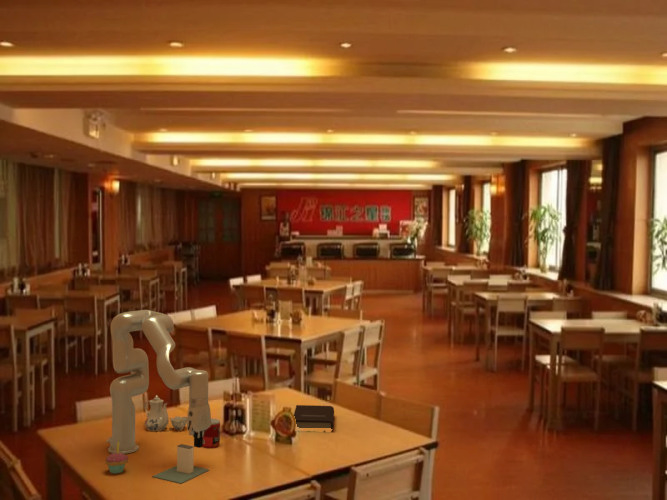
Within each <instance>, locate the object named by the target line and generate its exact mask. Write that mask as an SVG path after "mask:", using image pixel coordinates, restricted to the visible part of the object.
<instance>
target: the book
mask: <svg viewBox="0 0 667 500" xmlns="http://www.w3.org/2000/svg"><path fill="white" fill-rule="evenodd" d="M293 416H295V419H296V424H297V427H299V428H331V429H333V430H334V422H335V421H334V420H335V409H334V406H332V405H315V404H314V405H311V404H310V405H309V404H296V406H295V409H294V413H293Z"/></svg>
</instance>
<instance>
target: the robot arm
mask: <svg viewBox="0 0 667 500" xmlns="http://www.w3.org/2000/svg"><path fill="white" fill-rule="evenodd" d="M174 326H175V323H174V320H173V319H172V318H171V316H170V315H168V314H166V313H163V312H157V311H153V310H149V309H140V310H131V311H125V312H121V313H119V314H117V315H116V316H114V317H113V319H112V320H111V323H110V333H111V340H112V366H113V369H114V372H115V373H116V374H127V373H130V374H127V375H122V376H118V377H117V378H115V379H113V380H112V382H111V383H110V386H109V393H110V399H111V411H112V412H111V415H112V416H111V418H112V419H111V421H112V422H111V425H112V426H111V436H108V439H106V443H108V444H110V445H109V446H108V447H107V451H108V453H110V454H114V453H117V442H118V440H119V453H122V454H125V455H126V454H132V453H134V452H137V451H138V450H139V449H140V446H139V445H138V444H137V443H136V405H135V403H134V401H133V397H134V398H135V397H136V396H140V395H143V394H144V393H146V392H147V391H148V388H149V385H150V373H149V372H150V371H149V365H150V364H149V357H148V355H147V353H146V352H145V350H143V349H142V348H139V347H138V348H134V339H133V336H132V335H131V332H138V331H142V332H143V334H144V336H145V337H146V340H148V342H149V344H150V345H151V347H152V348H153V350H154V352H155V354H156V370H157V373H158V376H159V377H160V378H161V380H162V381H163V383H164V385H165V386H166V387H167V388H169V389H171V390H180V389H182V388H186V387H189V388H188V392H189V393H188V409H187V416H186V417H187V423H186V427H187V431H188V435H189V436H192V438H193V446H194V448H199V449H200V448H204V447H203V436H204V432H205V431H206V430H207V429H208V428H209V427H210V426H211V419H212V415H211V407H210V403H209V373H208V371H207V370H204V369H196V368H194V367H191V366H190V367H189V366H188V367H184V368H183V367H182V368H179V369H174V367H173V365H172V364H171V360H170V354H171V353H172V352H173V350H174V349H175V348H176V342H175V341H174V339H173V338H172V336H171V335H170V333H171V332H172V331H174Z"/></svg>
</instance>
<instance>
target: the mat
mask: <svg viewBox="0 0 667 500" xmlns="http://www.w3.org/2000/svg"><path fill="white" fill-rule="evenodd" d="M209 471H210V469H208V468H204V467H199V466H196V465H195V466H194V465H193V472H192V473H190V474H188V473H183V472H179V471H177V465H175V466H173V467H171V468H170V467H169V468H168V469H165V470H163V471H161V472H159V473H156V474H154V475H152V478H154V479H155V478H156V479H159V480H163V481H168V482H171V483H176V484H179V485H180V484H181V485H182V484H184V483H186V482H188V481H190V480H193V479H194V478H196V477H198V476H201V475H203V474H205V473H207V472H209Z"/></svg>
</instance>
